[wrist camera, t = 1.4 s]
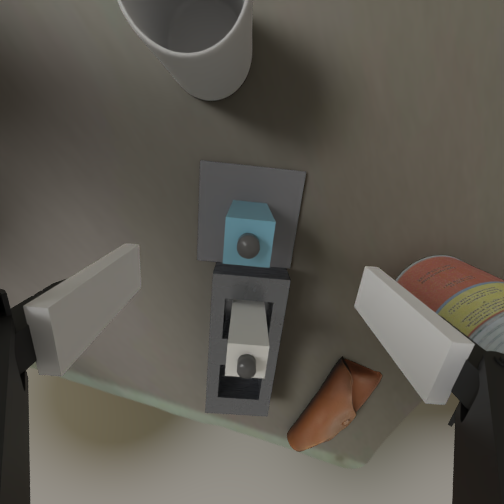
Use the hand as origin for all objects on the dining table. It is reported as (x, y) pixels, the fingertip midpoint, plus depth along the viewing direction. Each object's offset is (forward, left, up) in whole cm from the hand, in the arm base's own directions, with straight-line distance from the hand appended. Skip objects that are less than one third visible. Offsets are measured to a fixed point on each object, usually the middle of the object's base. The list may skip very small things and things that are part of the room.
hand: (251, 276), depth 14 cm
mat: (0, 0, -17) cm, 17 cm away
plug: (0, 0, -16) cm, 16 cm away
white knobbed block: (+1, -12, -16) cm, 20 cm away
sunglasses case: (+17, -29, -17) cm, 38 cm away
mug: (-7, +17, -17) cm, 25 cm away
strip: (+1, -17, -17) cm, 24 cm away
